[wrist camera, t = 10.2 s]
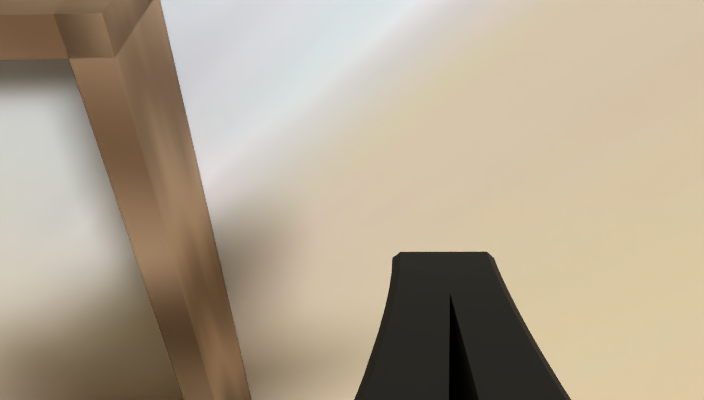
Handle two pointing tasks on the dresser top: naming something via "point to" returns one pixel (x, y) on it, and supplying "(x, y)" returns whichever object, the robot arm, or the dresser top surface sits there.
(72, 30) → the open box
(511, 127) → the dresser top surface
